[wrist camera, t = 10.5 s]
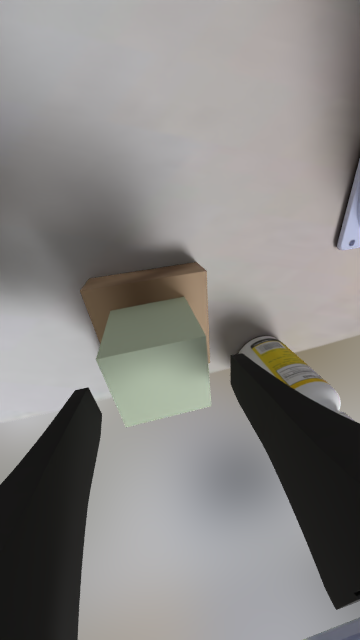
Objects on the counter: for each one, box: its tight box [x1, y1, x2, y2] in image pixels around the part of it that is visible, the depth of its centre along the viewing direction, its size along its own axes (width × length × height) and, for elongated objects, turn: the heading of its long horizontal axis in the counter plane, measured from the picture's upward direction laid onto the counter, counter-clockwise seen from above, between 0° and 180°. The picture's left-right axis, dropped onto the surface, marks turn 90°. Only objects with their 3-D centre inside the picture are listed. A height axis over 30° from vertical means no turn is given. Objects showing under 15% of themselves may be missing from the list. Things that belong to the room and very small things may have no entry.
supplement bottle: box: [238, 336, 354, 421], centre depth 17 cm, size 5×5×10 cm
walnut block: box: [80, 262, 210, 363], centre depth 16 cm, size 8×8×3 cm
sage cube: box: [96, 297, 211, 427], centre depth 12 cm, size 5×5×5 cm
